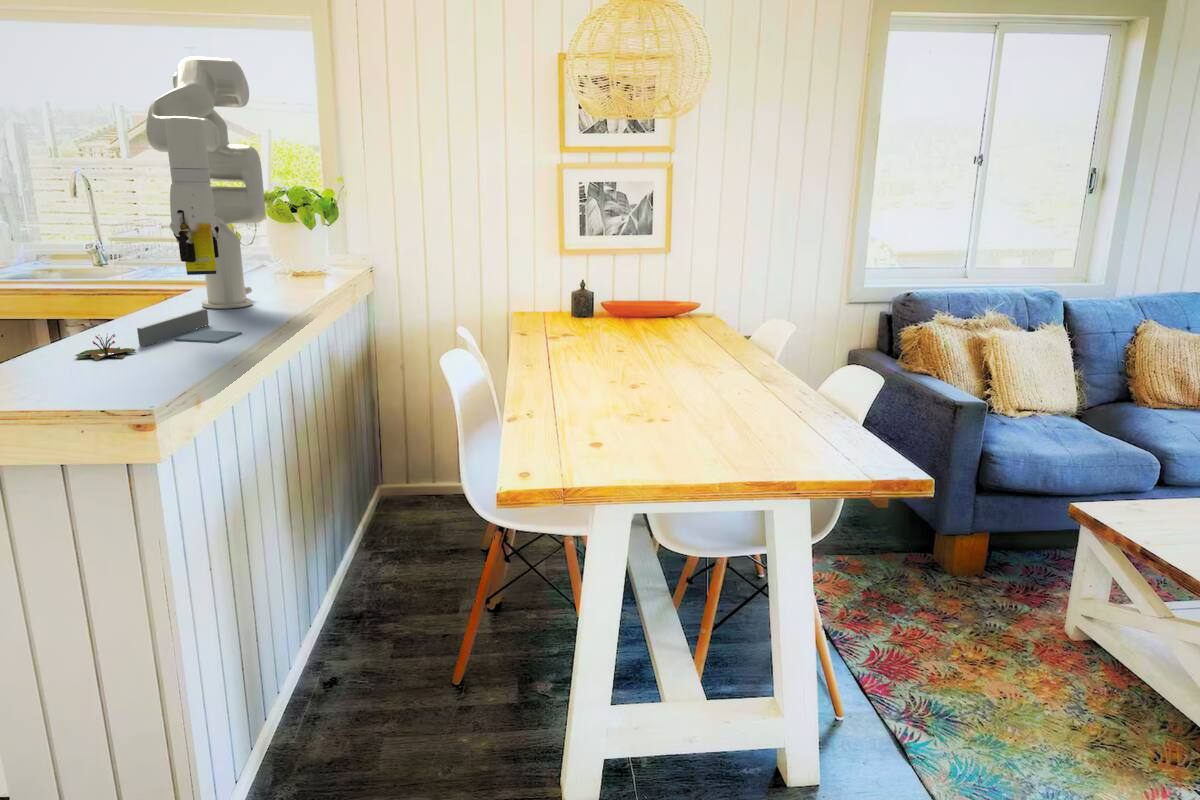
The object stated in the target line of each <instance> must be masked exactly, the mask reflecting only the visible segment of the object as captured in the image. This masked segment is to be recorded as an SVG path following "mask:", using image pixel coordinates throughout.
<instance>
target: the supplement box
mask: <svg viewBox="0 0 1200 800" xmlns="http://www.w3.org/2000/svg"><path fill="white" fill-rule="evenodd" d="M181 228H189V226H188V225H187V224H181ZM184 233H185V232H184ZM185 234H186V236H187V234H188V233H185ZM191 243H194V247H195V256H196V261H195V262H184V263H185V268H186V269H185V270H186V274H187V276H195V275H196V276H197V275H201V276H202V275H205V274H216V262H215V253H214V245H213V237H212V229H211V224H210V223H205V224H200V229H199V231H197V232H194V235H193V239H192V242H191Z"/></svg>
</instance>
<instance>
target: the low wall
mask: <svg viewBox="0 0 1200 800" xmlns="http://www.w3.org/2000/svg"><path fill="white" fill-rule="evenodd" d="M208 324H209V316H208V308H201V309H198V310H195V311H191V312H187V313H185V314H182V315H177V316H175V317H171V318H168V319H167V318H166V319H165V320H161V321H157V322H154V323H150V324H147V325H143V326H140V327H137V328H136V329H137V335H138V344H139V347H140V346H145V347H147V346H146V345H148V346H150V345H149V344H151V345H153V344H152V343H154V344H157V343H159V342H158V341H160V342H162V341H161V340H163V341H165V339H166V340H169V339H172V338H175V337H177V336H176V335H178V336H180V334H181V335H184V334H187V333H190V332H192V331H191V330H193V331H195V330H194V329H196V328H199V327H202V326H205V325H208ZM208 326H209V325H208ZM205 327H206V326H205ZM202 328H203V327H202ZM199 329H200V328H199ZM196 330H197V329H196ZM189 331H190V332H189ZM186 332H187V333H186ZM183 333H184V334H183ZM174 336H175V337H174ZM171 337H172V338H171ZM168 338H169V339H168ZM156 342H157V343H156Z"/></svg>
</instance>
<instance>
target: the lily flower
mask: <svg viewBox="0 0 1200 800" xmlns="http://www.w3.org/2000/svg"><path fill="white" fill-rule="evenodd" d="M106 333H107V332H106ZM94 337H95V338H96V339H98V341H99V342H100V345H101V346H102V347H101V346H100V345H99V344H98V343H97V342H96V341H94V340H93V341H92V344H93V345H94V346H97V347H98V348H97V349H88V350H87V349H86V350H84V351H82V352H79V353H77V354H76V356H77V357H76V358H75V360H80V359H89V358H88V357H90V358H92V357H93V359H94V360H95V361H98V360H100V359H103V358H105V357H110V356H113V355H117V354H118V355H117V357H116V358H121V359H123V358H124V357H125V354H137V352H136V351H134V349H133V347H131V348H129V347H127V348H121V347H120V346H119V347H111V346H112V345H114V344H115V343H116V342H115V340H112V339H113V338H115V337H116V333H114V334H112V335H111V336H110V337H109V336H108V333H107V334H106V336H105V343H104V339H103V337H101V336H100V334H97V335H94ZM99 337H100V338H99ZM108 337H109V338H108ZM111 340H112V341H111ZM110 341H111V342H110ZM131 349H133V350H131ZM112 353H114V354H112ZM119 353H120V354H119ZM98 354H100V355H101V356H100V355H98ZM91 356H92V357H91Z"/></svg>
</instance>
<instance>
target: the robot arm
mask: <svg viewBox="0 0 1200 800" xmlns="http://www.w3.org/2000/svg"><path fill="white" fill-rule="evenodd" d="M172 85H173V89H171V90H170V91H168V92H166V93H164V94H163V95H161V96H159V97H158V98H156V99H154V101H152V103H151V104H150V106H149V108H148V112H147V119H146V123H145V124H146V125H145V129H146V130H145V131H146V138H147V141H148V143H149V145H150V146H151V147H152V148H153V150H156V151H157V152H161V153H167V155H168V161H169V171H170V178H171V184H170V189H169V206H170V207H169V208H170V209H169V210H170V219H171V220H170V224H169V228H170V230H171V231H172V233H173V236H174V237H175V239H176V243H177V244H178V251H179V258H180V261H181V262H184V263H185V262H195V261H196V256H195V247H194V243H191V242H192V239H193V235H194V232H197V231H199V229H200V224H205V223H210V224H211V229H212V237H213V245H214V253H215V262H216V274H204V279H205V280H204V281H205V286H206V295H207V299H204V300H203V301H201V306H202V307H203V308H205V309H215V310H216V309H220V310H221V309H223V310H224V309H235V308H236V309H238V308H245V307H248V306H251V305H252V304H253V300H252V299H251V298H248V297H247V294H248V295H249V294H251V293H252V291H253V290H252V287H250V286H245V278H244V269H243V260H242V259H243V258H242V250H241V241H240V239H239V237H238V235H237V234H236V232H235V231H233V230H232V229H231V228H230V227H229V225H230V224H231V225H232V224H257V223H262V222H263V221H264V220H265V217H266V201H265V190H264V181H263V171H262V162H261V158H260V155H259V152H258V150H257V149H256V148H255V147H253V146H251V145H249V144H247V145H246V144H230V142H229V134H228V125H227V123H226V122H225V120H224V119H223V118H222V117H221V115H220V114H219V113H218V112H217V111H216V110H215V107H217V108H218V107H220V108H222V107H223V108H243V107H246V106H247V105H248V103H249V101H250V89H249V84H248V80H247V78H246V76H245V73H244V71H243V69H242V67H241V66H240V65H239V63H238V62H236V61H234V60H233V59H231V58H223V57H221V58H220V57H205V56H188V57H185V58H184V59H181V61H180V62H179V63H178V65H177V69H176V72H175V73H174V74H173V77H172ZM211 182H228V183H229V182H233V183H234V182H236V183H238V182H239V183H243V184H244V185H245V186H214V185H213V186H211ZM181 224H187V225H188V226H189V228H181ZM184 232H185V233H188V234H187V236H186V234H185V233H184Z"/></svg>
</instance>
